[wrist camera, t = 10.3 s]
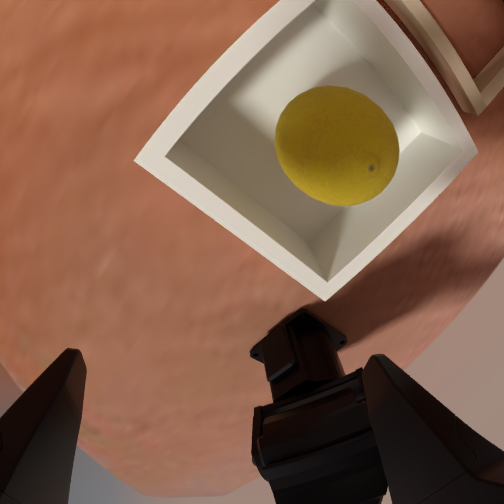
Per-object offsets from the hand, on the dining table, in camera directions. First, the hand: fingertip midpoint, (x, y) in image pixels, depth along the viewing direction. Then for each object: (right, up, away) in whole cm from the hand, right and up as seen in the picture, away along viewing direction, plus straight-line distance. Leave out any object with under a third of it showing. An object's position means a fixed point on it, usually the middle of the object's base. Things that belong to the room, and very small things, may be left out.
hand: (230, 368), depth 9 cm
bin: (+4, +11, +9) cm, 15 cm away
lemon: (+4, +11, +9) cm, 14 cm away
